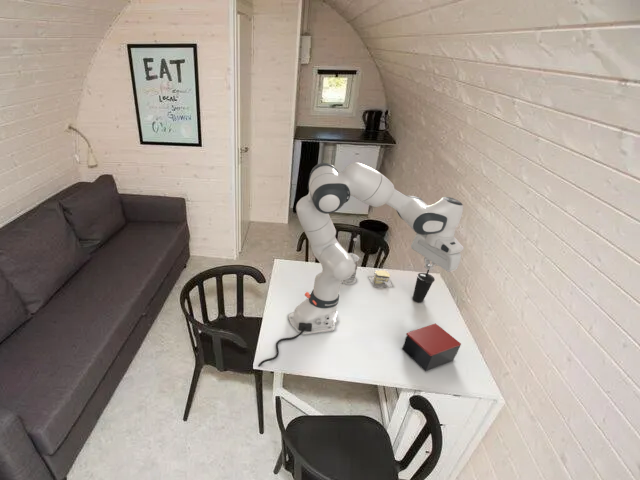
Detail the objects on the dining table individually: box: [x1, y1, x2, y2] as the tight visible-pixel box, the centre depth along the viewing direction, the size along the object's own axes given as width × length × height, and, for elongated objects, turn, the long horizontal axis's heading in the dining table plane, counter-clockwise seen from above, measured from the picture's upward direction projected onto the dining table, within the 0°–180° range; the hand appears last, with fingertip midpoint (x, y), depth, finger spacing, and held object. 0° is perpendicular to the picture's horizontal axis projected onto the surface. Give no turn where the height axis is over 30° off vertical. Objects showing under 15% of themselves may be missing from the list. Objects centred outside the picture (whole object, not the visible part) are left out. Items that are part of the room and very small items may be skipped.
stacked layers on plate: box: [368, 269, 394, 288], centre depth 187 cm, size 10×9×6 cm
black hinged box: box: [401, 335, 462, 372], centre depth 143 cm, size 15×13×9 cm
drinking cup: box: [412, 269, 435, 304], centre depth 170 cm, size 8×8×20 cm
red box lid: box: [405, 323, 462, 356], centre depth 140 cm, size 15×13×1 cm
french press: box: [341, 237, 360, 285], centre depth 183 cm, size 10×12×25 cm
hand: (428, 268), depth 143 cm, fingers closed
